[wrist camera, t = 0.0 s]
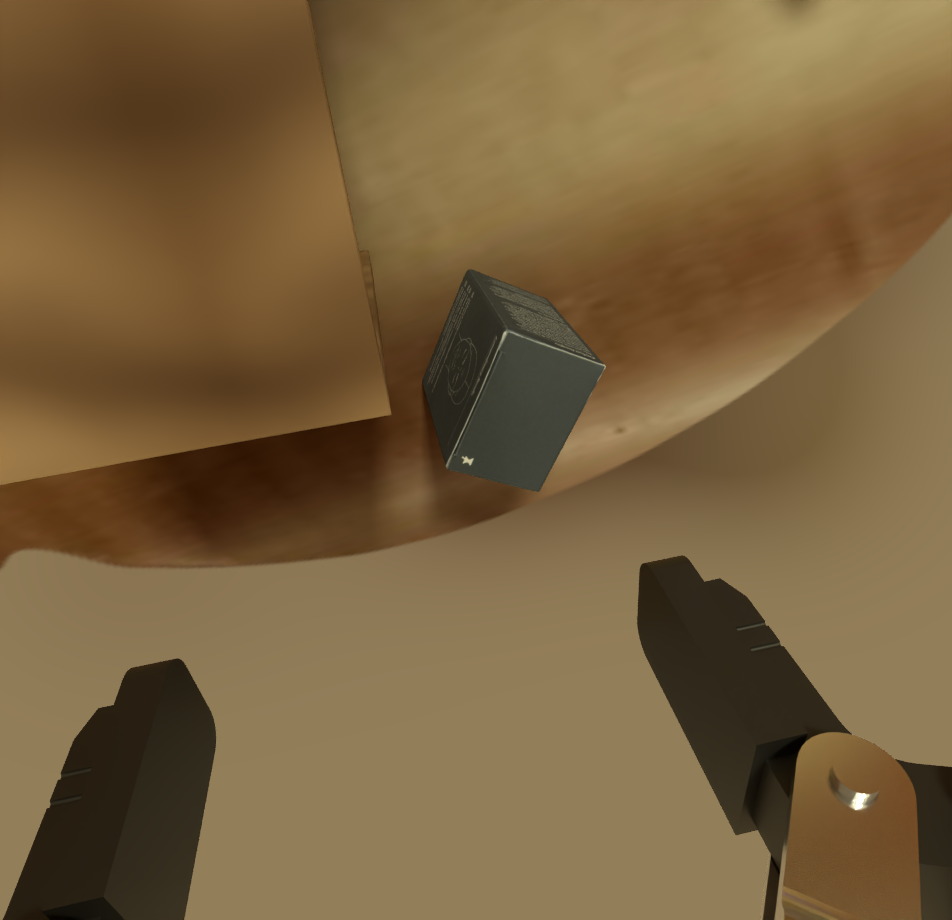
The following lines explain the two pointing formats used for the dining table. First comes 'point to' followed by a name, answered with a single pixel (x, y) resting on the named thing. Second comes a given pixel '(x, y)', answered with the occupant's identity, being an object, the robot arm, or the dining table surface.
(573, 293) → the dining table surface
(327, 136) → the shelf
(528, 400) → the box
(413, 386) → the dining table surface
